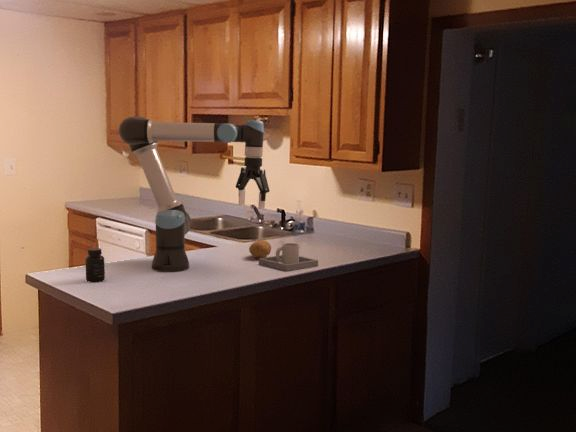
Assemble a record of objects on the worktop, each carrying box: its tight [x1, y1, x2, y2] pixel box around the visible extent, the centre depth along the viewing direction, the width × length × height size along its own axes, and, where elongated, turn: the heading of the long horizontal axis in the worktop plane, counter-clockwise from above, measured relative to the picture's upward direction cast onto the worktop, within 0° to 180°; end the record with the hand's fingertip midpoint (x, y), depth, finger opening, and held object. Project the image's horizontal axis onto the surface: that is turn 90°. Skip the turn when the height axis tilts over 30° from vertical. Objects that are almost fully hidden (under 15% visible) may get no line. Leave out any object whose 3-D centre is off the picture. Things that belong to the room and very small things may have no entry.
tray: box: [258, 254, 319, 272], centre depth 280 cm, size 18×18×2 cm
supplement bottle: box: [85, 247, 106, 283], centre depth 244 cm, size 7×7×12 cm
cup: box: [275, 242, 300, 264], centre depth 279 cm, size 7×10×9 cm
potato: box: [248, 239, 272, 259], centre depth 295 cm, size 10×14×8 cm
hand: (251, 206), depth 279 cm, fingers open, 13 cm apart
